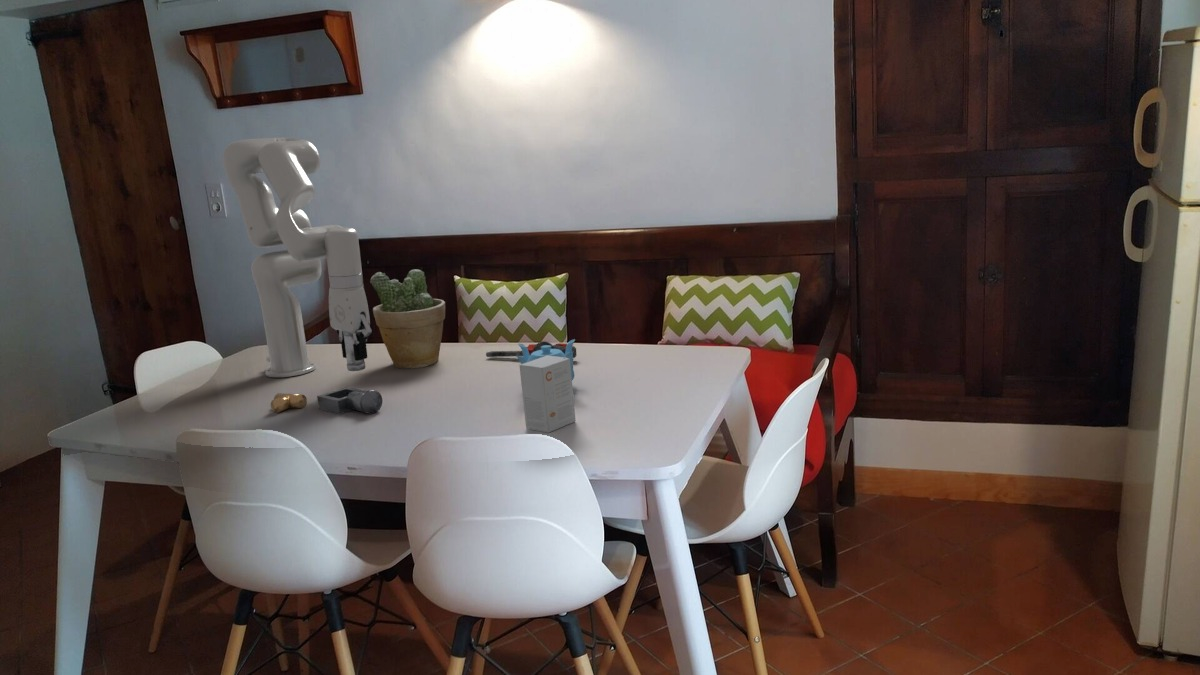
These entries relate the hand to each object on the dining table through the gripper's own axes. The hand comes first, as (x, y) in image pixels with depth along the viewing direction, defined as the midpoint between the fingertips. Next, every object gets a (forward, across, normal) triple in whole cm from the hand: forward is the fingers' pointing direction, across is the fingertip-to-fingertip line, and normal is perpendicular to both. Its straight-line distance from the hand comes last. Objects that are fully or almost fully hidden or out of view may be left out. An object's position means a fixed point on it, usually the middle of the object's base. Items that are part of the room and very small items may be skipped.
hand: (355, 357), depth 221 cm
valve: (+8, +20, +41) cm, 46 cm away
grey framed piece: (+7, +14, -11) cm, 19 cm away
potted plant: (+8, -7, +23) cm, 25 cm away
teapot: (+6, +44, +20) cm, 49 cm away
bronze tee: (+8, -1, -19) cm, 20 cm away
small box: (+6, +62, +1) cm, 62 cm away
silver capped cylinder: (+3, 0, 0) cm, 3 cm away
